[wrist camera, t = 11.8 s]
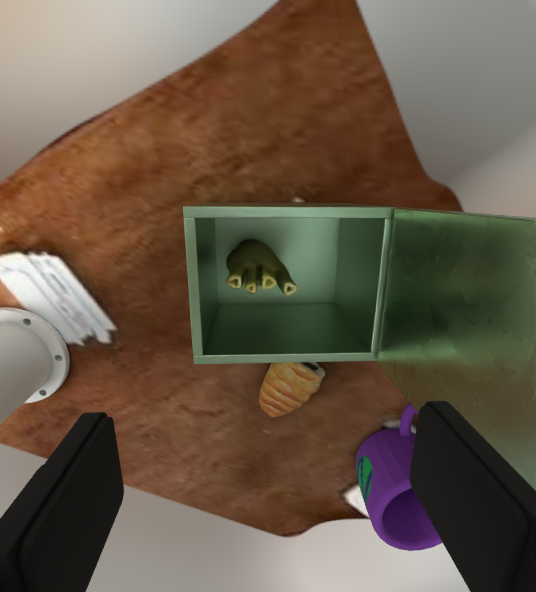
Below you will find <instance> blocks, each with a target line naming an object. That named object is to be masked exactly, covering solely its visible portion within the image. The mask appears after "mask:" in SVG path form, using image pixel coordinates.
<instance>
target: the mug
mask: <svg viewBox="0 0 536 592" xmlns="http://www.w3.org/2000/svg"><path fill="white" fill-rule="evenodd" d="M415 413H417V414H419V413H418V412H417V411H416V409H415V408H414V407H413V406H412V405H411V403H409V404H408V405H407V406H406V407H405V409H404V411H403V414H402V417H401V422H400V429H399V428H390V429H385V430H381V431H379V432H376V433H374V434H372V435H371V436H370V437H368V438H367V439H366V440H365V441H364V442H363V443H362V445H361V446H360V447H359V450H358V452H357V455H356V464H355V466H356V472H357V477H358V482H359V486H360V489H361V493H362V496H363V499H364V502H365V505H366V509H367V511H368V514H369V517H370V520H371V522H372V525H373V528H374V530H375V531H376V533H377V534H378V536H379V537H380V538H381V539H382V540H383V541H385V542H386V543H387V544H389V545H390V546H393V547H395V548H398V549H402V550H409V551H411V550H412V551H413V550H422V549H427V548H431V547H434V546H436V545H438V544H441V543H443V542H442V540H441V539H440V537H439V535H438V533H437V531H436V530H435V528H434V526H433V524H432V523H431V521H430V519H429V517H428V516H427V514H426V512H425V510H424V509H423V507H422V505H421V503H420V501H419V500H418V498H417V496H416V494H415V493H414V491H413V489H412V487H411V484H410V480H409V472H410V466H411V460H412V454H413V448H414V441H415V434H413V433H411V424H412V420H413V417H414V415H415Z"/></svg>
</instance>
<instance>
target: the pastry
mask: <svg viewBox="0 0 536 592" xmlns="http://www.w3.org/2000/svg"><path fill="white" fill-rule="evenodd" d="M324 376H325V372H324V369H323V368H321V367H320V366H319V365H318V364H317V363H316V362H283V363H271V366H270V368H269V370H268V371H267V373H266V375H265V378H264V381H263V384H262V387H261V390H260V395H259V402H260V405H261V408H262V409H263V410H264V411H265V412H267V413H268V414H269V415H270V416H271V417H276V416H282V415H284V414H286V413H291V412H293V410H294V409H295V408H300V407H301V405H302V404H303V403H304V402H307V401H308V400H309V398H310V396H311V394H312V393H316V392H317V391H318V390H319V387H320V383H321V380H322V378H323V377H324Z"/></svg>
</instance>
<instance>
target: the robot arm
mask: <svg viewBox="0 0 536 592" xmlns="http://www.w3.org/2000/svg"><path fill="white" fill-rule="evenodd" d="M69 366H70V358H69V352H68V349H67V346H66V344H65V342H64V340H63V338H62V337H61V335H60V334H59V333H58V332H57V330H56V329H55V328H54V327H53V326H52V325H51V324H49V323H48V322H47V321H46V320H44V319H43V318H41V317H39V316H38V315H36V314H33V313H31V312H29V311H26V310H22V309H18V308H9V307H2V308H0V424H1V423H3V422H4V421H5V420H6V419H7V418H8V417H9V416H10V415H11V414H12V413H13V412H15V411H16V410H17V409H18V408H19V407H20V406H21V405H22V404H23V403H32V402H36V401H39V400H42V399H44V398H46V397H48V396H50V395H51V394H53V393H54V392H55V391H56V390H57V389H58V388H59V387H60V386H61V385H62V384H63V382H64V381H65V379H66V377H67V375H68V372H69ZM409 480H410V484H411V487H412V489H413V491H414V493H415V494H416V496H417V498H418V500H419V501H420V503H421V505H422V507H423V509H424V510H425V512H426V514H427V516H428V517H429V519H430V521H431V523H432V524H433V526H434V528H435V530H436V531H437V533H438V535H439V537H440V539H441V540H442V542H443V544H444V546H445V547H446V549H447V551H448V553H449V554H450V556H451V558H452V560H453V561H454V563H455V565H456V567H457V569H458V570H459V572H460V574H461V575H462V577H463V579H464V581H465V583H466V584H467V586H468V588H469V590H470V591H471V592H536V490H535V489H534V488H533V487H532V486H531V485H530V484H529V483H528V482H527V481H526V480H525V479H524V478H523V477H522V476H521V475H520V474H519V473H518V472H517V471H516V470H515V469H514V468H513V467H512V466H511V465H510V464H509V463H508V462H507V461H506V460H505V459H504V458H503V457H502V456H501V455H500V454H499V453H498V452H497V451H496V450H495V449H494V448H493V447H492V446H491V445H490V444H489V443H488V442H487V441H486V440H485V439H484V438H483V437H482V435H481V434H480V433H479V432H478V431H477V430H476V429H475V428H474V427H473V426H472V425H471V424H470V423H469V422H468V421H467V420H466V419H465V418H464V417H463V416H462V415H461V414H460V413H459V412H458V411H457V410H456V409H455V408H454V407H453V406H452V405H451V404H450V403H449V402H448V401H428V402H426V403H425V405H424V406H422V407H421V408H420V410H419V416H418V423H417V429H416V435H415V441H414V448H413V454H412V460H411V466H410V472H409ZM123 494H124V487H123V480H122V474H121V467H120V461H119V454H118V448H117V441H116V435H115V428H114V422H113V419H112V418H111V417H107V414H106V413H105V412H97V413H84V414H82V415H81V416H80V418H79V419H78V420H77V422H76V423H75V424H74V426H73V427H72V428H71V430H70V431H69V432H68V434H67V435H66V436H65V438H64V439H63V440H62V442H61V443H60V444H59V445H58V447H57V448H56V449H55V451H54V452H53V453H52V455H51V456H50V457H49V459H48V460H47V461H46V463H45V464H44V465H42V466H41V467H40V468H39V469H38V470H37V471H36V473H35V474H34V475H33V477H32V478H31V479H30V481H29V482H28V483H27V484H26V486H25V487H24V488H23V490H22V491H21V492H20V494H19V495H18V496H17V498H16V499H15V500H14V501H13V503H12V504H11V506H10V507H9V508H8V509H7V511H6V512H5V513H4V515H3V516H2V517H1V518H0V592H86V590H87V587H88V585H89V582H90V580H91V577H92V575H93V572H94V570H95V567H96V565H97V562H98V560H99V558H100V555H101V553H102V550H103V548H104V545H105V543H106V540H107V538H108V535H109V533H110V530H111V528H112V526H113V523H114V520H115V518H116V515H117V513H118V511H119V508H120V506H121V503H122V500H123Z"/></svg>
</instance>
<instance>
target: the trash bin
mask: <svg viewBox="0 0 536 592" xmlns="http://www.w3.org/2000/svg"><path fill="white" fill-rule="evenodd" d="M395 208H397V207H389V206H378V205H367V204H356V203H328V202H205V203H200V204H194V205H189V206H184V207H183V214H184V229H185V243H186V258H187V273H188V287H189V302H190V317H191V331H192V346H193V355H194V356H193V359H194V364H229V363H283V362H338V361H378V354H379V345H380V336H381V328H382V319H383V310H384V302H385V293H386V284H387V276H388V267H389V258H390V249H391V241H392V232H393V223H394V215H395ZM249 239H255V240H258V241H260V242H262V243H264V244H266V245H268V246H269V247H270V248H271V249H272V251H273V252H274V253H275V255H276V256H277V257H278V258H279V260H280V261H281V262H282V263H283V264H284V265H285V266H286V268H287V270H288V271H289V273H290V277H291V279H292V280H293V282H294V283H295V284H296V285H297V287H298V289H297V291H296V292H295V293H294V294H292V295H291V296H286V295H284V294H283V292H282V291H281V289H280V288H279V287H278V285H277V284H276V286H274V287H273V288H271V289H269V290H264V289H262V288H261V286H257V293H256V294H250V293H248V292H247V291H246V290H245V284H244V283H243V285H242V288H241V289H239V290H236V289H233V288H231V287H229V286H228V285H227V283H226V279H227V278H228V276H229V273H230V272H229V271H228V269H227V266H226V259H227V257H228V255H229V254H230V253H231V252H232V251H233V250H235V249H236V248H237V247H238V245H239V244H240V243H241V242H242V241H244V240H249Z"/></svg>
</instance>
